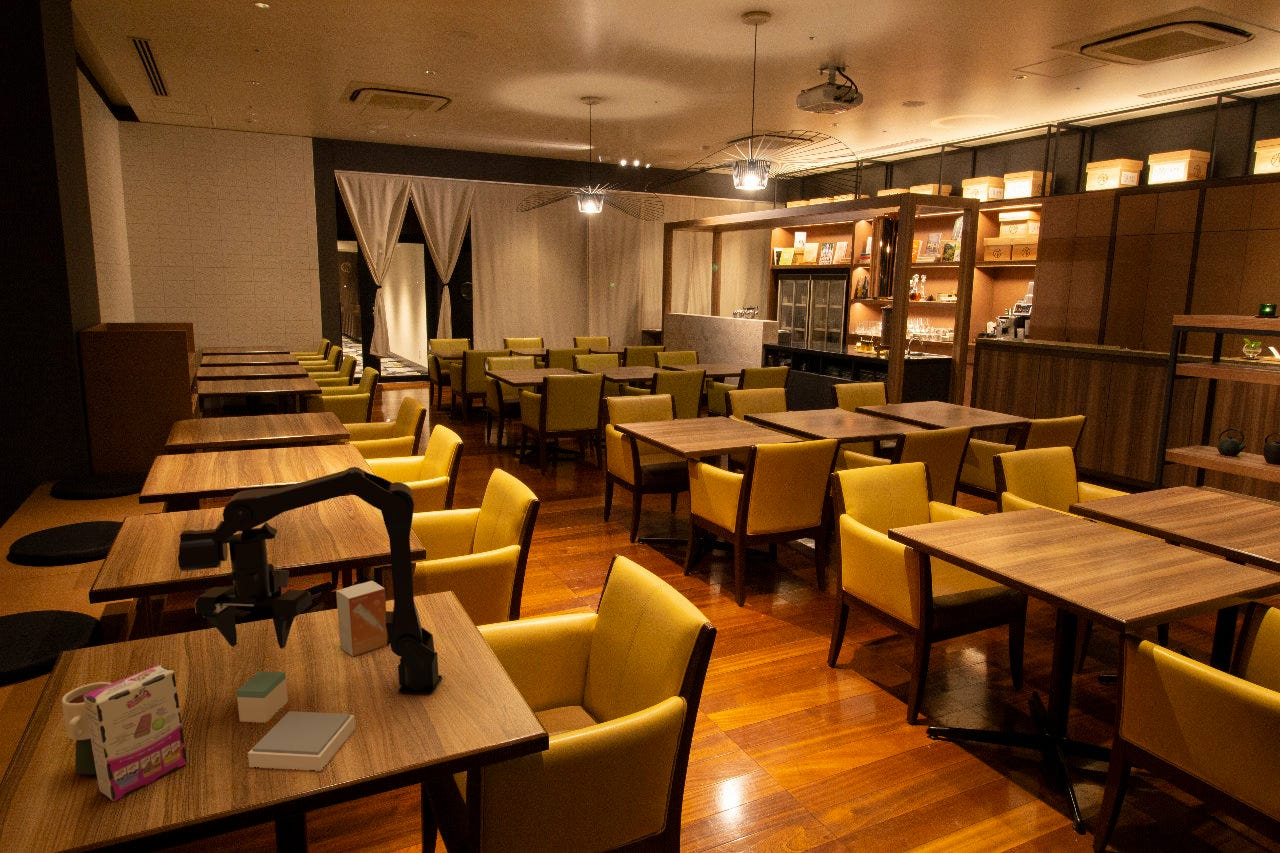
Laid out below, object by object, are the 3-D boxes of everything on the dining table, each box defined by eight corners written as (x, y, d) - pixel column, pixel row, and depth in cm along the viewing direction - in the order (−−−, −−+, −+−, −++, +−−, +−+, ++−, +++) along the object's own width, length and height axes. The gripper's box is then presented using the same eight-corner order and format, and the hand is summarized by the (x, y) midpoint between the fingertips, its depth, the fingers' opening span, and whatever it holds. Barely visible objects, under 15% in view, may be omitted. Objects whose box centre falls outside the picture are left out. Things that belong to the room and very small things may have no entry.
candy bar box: (172, 754, 128) (160, 662, 125) (188, 764, 125) (176, 670, 122) (96, 792, 118) (81, 693, 115) (112, 803, 116) (97, 702, 113)
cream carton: (287, 702, 144) (285, 672, 143) (266, 723, 137) (263, 691, 136) (262, 700, 144) (259, 671, 143) (239, 721, 137) (236, 690, 136)
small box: (352, 657, 160) (348, 598, 158) (339, 647, 165) (335, 589, 162) (389, 645, 166) (385, 587, 163) (376, 635, 170) (371, 579, 168)
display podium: (355, 728, 135) (354, 712, 134) (321, 771, 123) (319, 754, 123) (289, 725, 136) (287, 709, 135) (249, 767, 124) (247, 750, 124)
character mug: (105, 786, 120) (94, 709, 117) (55, 790, 119) (43, 713, 116) (140, 745, 130) (131, 674, 128) (94, 749, 129) (84, 677, 127)
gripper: (323, 549, 143) (330, 628, 146) (227, 546, 145) (236, 625, 147) (290, 571, 132) (298, 657, 135) (187, 568, 134) (198, 652, 136)
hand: (258, 646), depth 139 cm, fingers open, 9 cm apart
